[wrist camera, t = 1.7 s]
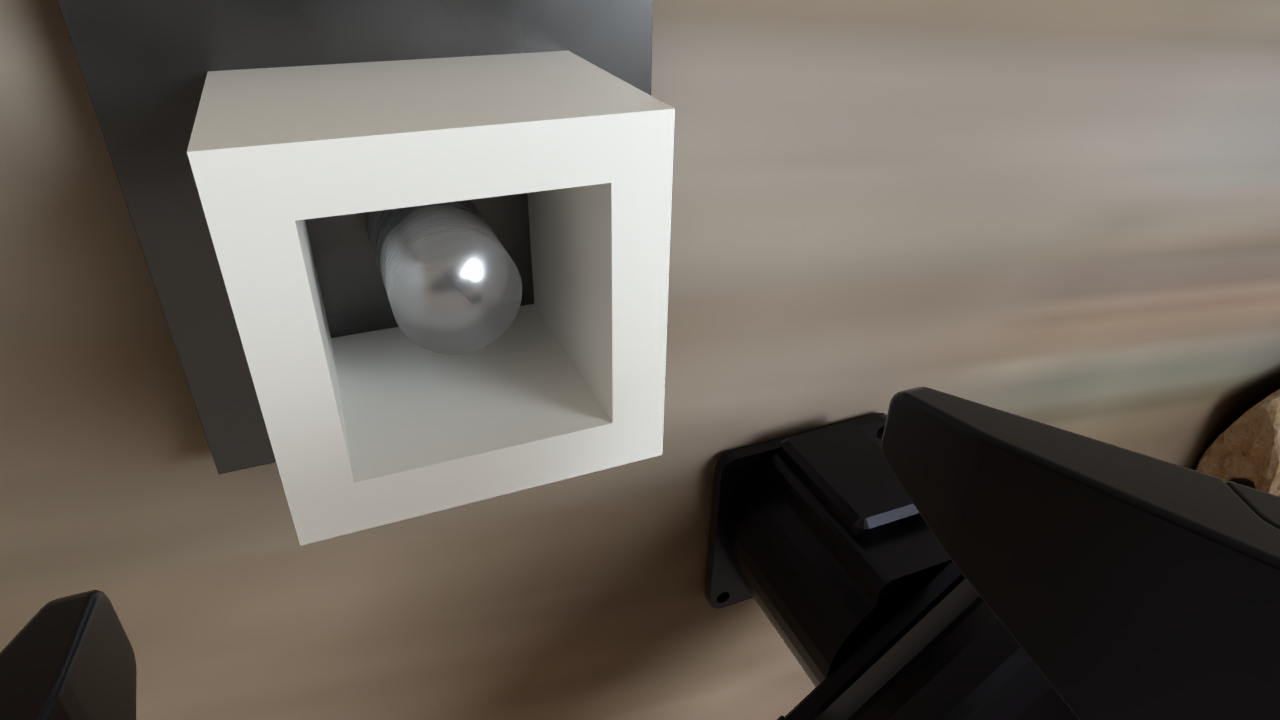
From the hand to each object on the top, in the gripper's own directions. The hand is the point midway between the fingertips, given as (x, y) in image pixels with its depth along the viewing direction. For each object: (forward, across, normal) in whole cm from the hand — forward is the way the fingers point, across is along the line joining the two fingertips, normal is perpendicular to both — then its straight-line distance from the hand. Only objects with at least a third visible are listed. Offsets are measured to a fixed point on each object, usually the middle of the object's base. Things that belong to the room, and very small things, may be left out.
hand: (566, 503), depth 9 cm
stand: (+10, 0, 0) cm, 10 cm away
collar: (+9, 0, 0) cm, 9 cm away
